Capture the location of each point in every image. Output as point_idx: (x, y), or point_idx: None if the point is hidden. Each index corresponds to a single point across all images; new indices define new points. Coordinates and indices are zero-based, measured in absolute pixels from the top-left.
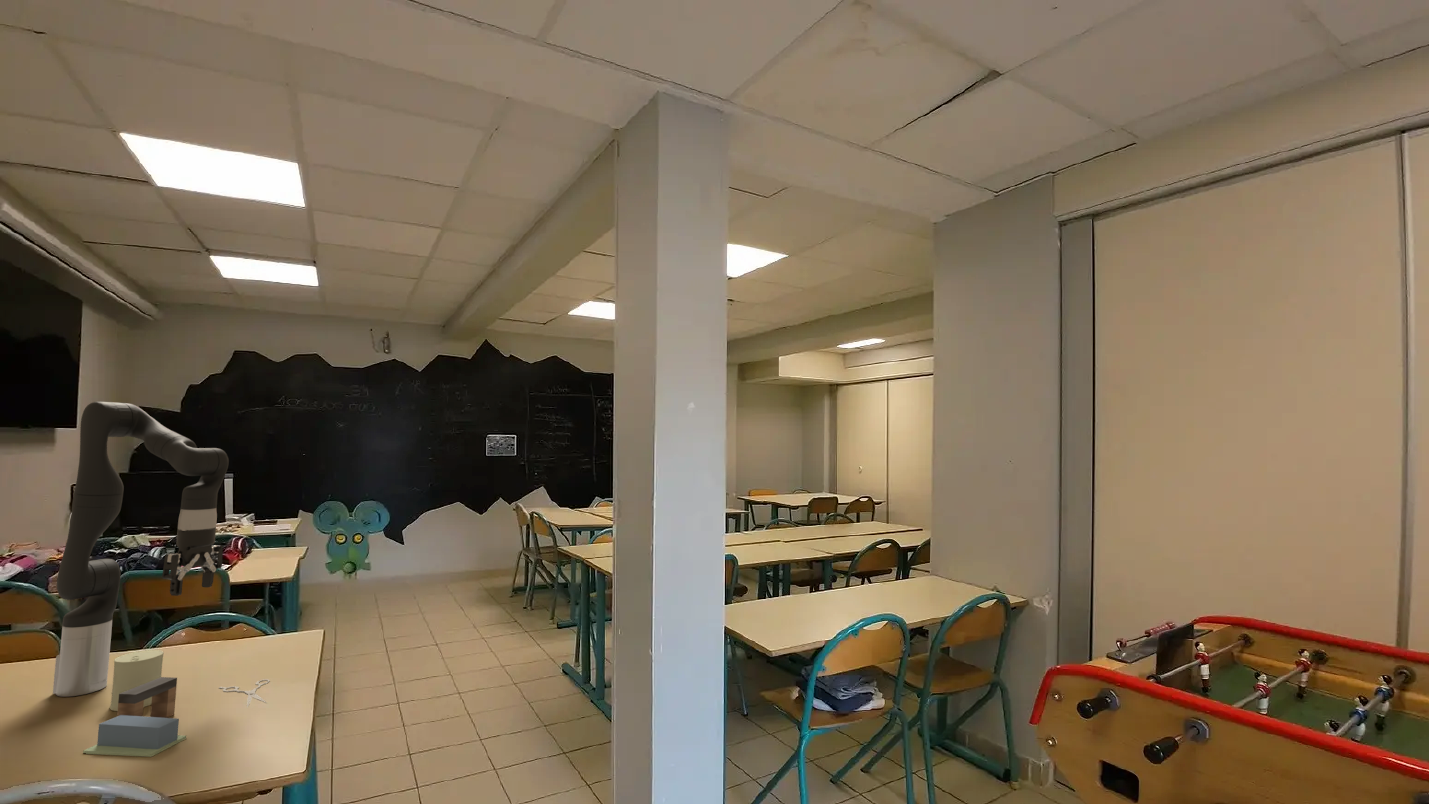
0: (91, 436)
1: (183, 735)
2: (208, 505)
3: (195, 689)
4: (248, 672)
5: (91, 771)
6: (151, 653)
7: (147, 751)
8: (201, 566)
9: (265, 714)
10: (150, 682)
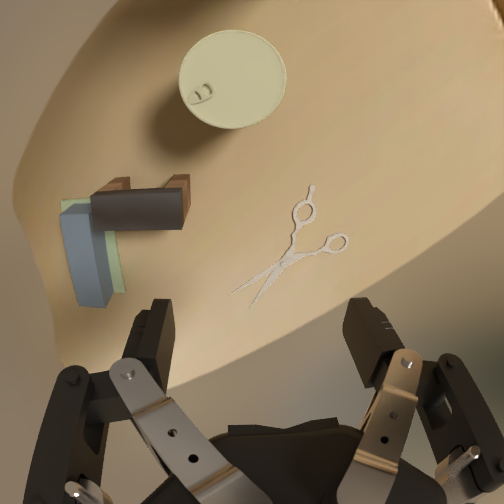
0: None
1: (124, 289)
2: None
3: (305, 144)
4: (387, 180)
5: (42, 255)
6: (256, 90)
7: None
8: (378, 395)
9: (211, 330)
10: (147, 199)
